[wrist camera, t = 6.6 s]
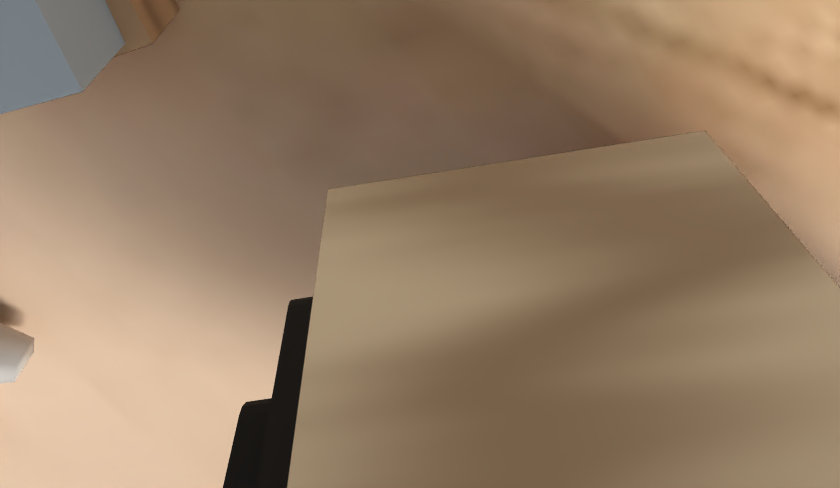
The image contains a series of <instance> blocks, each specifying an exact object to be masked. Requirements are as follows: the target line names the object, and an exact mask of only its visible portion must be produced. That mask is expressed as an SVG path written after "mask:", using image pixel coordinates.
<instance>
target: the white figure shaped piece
mask: <svg viewBox="0 0 840 488" xmlns="http://www.w3.org/2000/svg"><path fill="white" fill-rule="evenodd" d="M33 352H34V338H32V337H30V336H28V335H26V334H24V333H21V332H19V331H17V330H15V329H13V328H10V327H8V326H6V325H4V324H2V323H0V383H9V382H15V380H16V379H17V377H18V376H19V374H20V372H21V371H22V369H23V368H24V366H25V365H26V363H27V362H28V360H29V358H30V357H31V355H32V354H33Z"/></svg>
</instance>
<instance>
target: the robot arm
mask: <svg viewBox="0 0 840 488" xmlns="http://www.w3.org/2000/svg"><path fill="white" fill-rule="evenodd" d="M312 302H313V297H308V298H301V299H294V300H291V301H290V302H289V305H288V311H287V316H286V322H285V327H284V333H283V339H282V344H281V350H280V355H279V361H278V366H277V372H276V378H275V383H274V389H273V394H272V398H271V399H264V400H257V401H250V402H246V403H245V404H244V405H243V406H242V409H241V412H240V414H239V418H238V423H237V427H236V432H235V436H234V441H233V445H232V450H231V454H230V458H229V463H228V467H227V472H226V476H225V481H224V485H223V488H287V485H288V477H289V470H290V463H291V455H292V448H293V441H294V433H295V426H296V419H297V412H298V404H299V397H300V390H301V382H302V375H303V368H304V360H305V353H306V346H307V338H308V331H309V324H310V317H311V309H312Z"/></svg>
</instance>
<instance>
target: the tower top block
mask: <svg viewBox="0 0 840 488" xmlns="http://www.w3.org/2000/svg"><path fill="white" fill-rule="evenodd" d="M124 44H125V41H124V39H123V37H122V35H121V33H120V31H119V29H118V26H117V24H116V22H115V20H114V18H113V16H112V14H111V12H110V10H109V7H108V5H107V3H106V1H105V0H0V114H2V113H6V112H10V111H13V110H17V109H21V108H24V107H28V106H32V105H35V104H39V103H43V102H46V101H50V100H54V99H58V98H61V97H65V96H69V95H72V94H76V93H80V92H83V91H84V90H85V88H86V87H87V86H88V85H89V84H90V83H91V82H92V81H93V79H94V78H95V77H96V76H97V75H98V74H99V73H100V71H101V70H102V69H103V68H104V67H105V66H106V65H107V64H108V62H109V61H110V60H111V59H112V58H113V57H114V56H115V55H116V53H117V52H118V51H119V50H120V49H121V48H122V47H123V46H124Z"/></svg>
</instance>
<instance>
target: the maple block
mask: <svg viewBox="0 0 840 488" xmlns="http://www.w3.org/2000/svg"><path fill="white" fill-rule="evenodd" d="M287 488H840V288H839V286H838V285H837V284H836V283H835V282H834V281H833V279H832V278H831V277H830V276H829V275H828V274H827V272H826V271H825V270H824V269H823V268H822V267H821V265H820V264H819V263H818V262H817V261H816V259H815V258H814V257H813V256H812V255H811V254H810V252H809V251H808V250H807V249H806V248H805V247H804V245H803V244H802V243H801V242H800V241H799V240H798V238H797V237H796V236H795V235H794V234H793V233H792V231H791V230H790V229H789V228H788V227H787V226H786V224H785V223H784V222H783V221H782V220H781V219H780V217H779V216H778V215H777V214H776V213H775V212H774V210H773V209H772V208H771V207H770V206H769V204H768V203H767V202H766V201H765V200H764V199H763V197H762V196H761V195H760V194H759V193H758V192H757V190H756V189H755V188H754V187H753V186H752V185H751V183H750V182H749V181H748V180H747V179H746V178H745V176H744V175H743V174H742V173H741V172H740V171H739V169H738V168H737V167H736V166H735V165H734V164H733V162H732V161H731V160H730V159H729V158H728V156H727V155H726V154H725V153H724V152H723V151H722V149H721V148H720V147H719V146H718V145H717V144H716V142H715V141H714V140H713V139H712V138H711V137H710V135H709V134H708V133H707V132H706V131H700V132H693V133H687V134H680V135H674V136H667V137H661V138H655V139H648V140H642V141H635V142H629V143H622V144H616V145H610V146H603V147H597V148H590V149H584V150H577V151H571V152H565V153H558V154H552V155H545V156H539V157H532V158H526V159H520V160H513V161H507V162H500V163H494V164H487V165H481V166H475V167H468V168H462V169H455V170H449V171H442V172H436V173H430V174H423V175H417V176H410V177H404V178H397V179H391V180H385V181H378V182H372V183H365V184H359V185H352V186H346V187H340V188H333V189H328V192H327V200H326V207H325V214H324V222H323V229H322V236H321V244H320V251H319V258H318V265H317V273H316V280H315V287H314V295H313V302H312V309H311V317H310V324H309V331H308V338H307V346H306V353H305V360H304V368H303V375H302V382H301V390H300V397H299V404H298V412H297V419H296V426H295V433H294V441H293V448H292V455H291V463H290V470H289V477H288V485H287Z"/></svg>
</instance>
